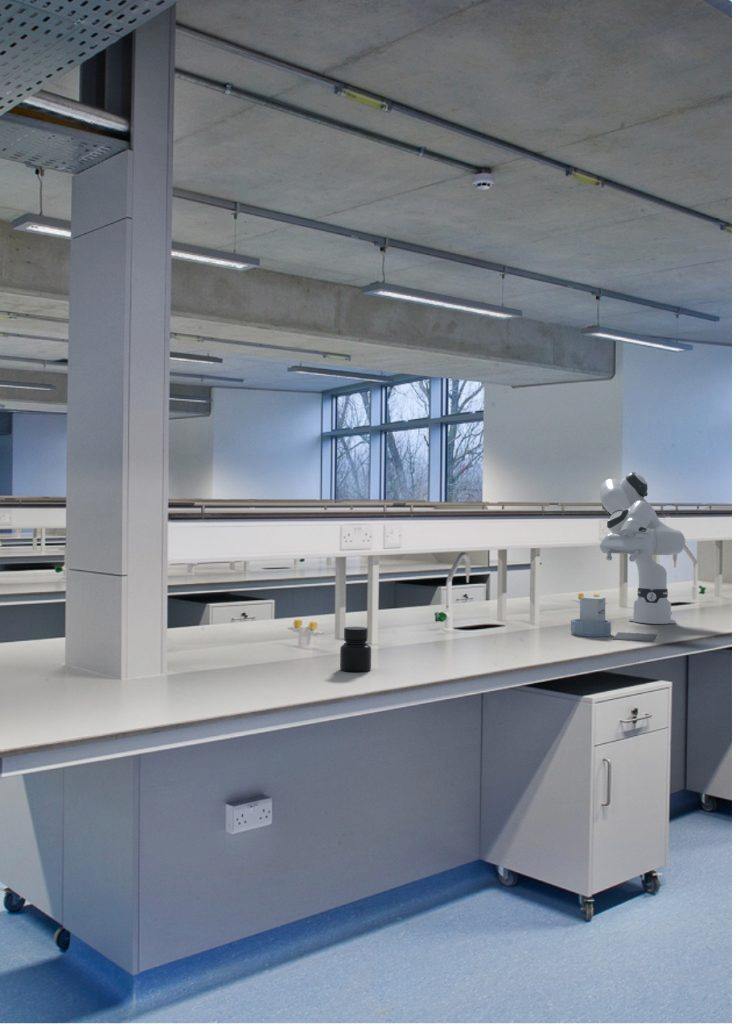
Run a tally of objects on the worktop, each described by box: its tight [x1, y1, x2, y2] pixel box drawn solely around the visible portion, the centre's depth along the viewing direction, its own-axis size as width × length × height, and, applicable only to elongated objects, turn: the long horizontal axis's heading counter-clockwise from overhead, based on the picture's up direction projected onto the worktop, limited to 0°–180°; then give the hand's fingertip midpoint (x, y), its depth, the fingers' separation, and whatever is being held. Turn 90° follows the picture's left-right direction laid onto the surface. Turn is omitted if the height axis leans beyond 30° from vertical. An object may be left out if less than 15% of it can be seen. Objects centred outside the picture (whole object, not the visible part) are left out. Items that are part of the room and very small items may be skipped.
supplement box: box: [579, 596, 606, 623], centre depth 350 cm, size 7×7×13 cm
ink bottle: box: [339, 626, 372, 673], centre depth 267 cm, size 10×9×12 cm
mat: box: [612, 631, 657, 643], centre depth 343 cm, size 20×14×1 cm
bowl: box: [570, 618, 612, 638], centre depth 349 cm, size 14×14×5 cm
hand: (619, 559), depth 360 cm, fingers open, 8 cm apart
